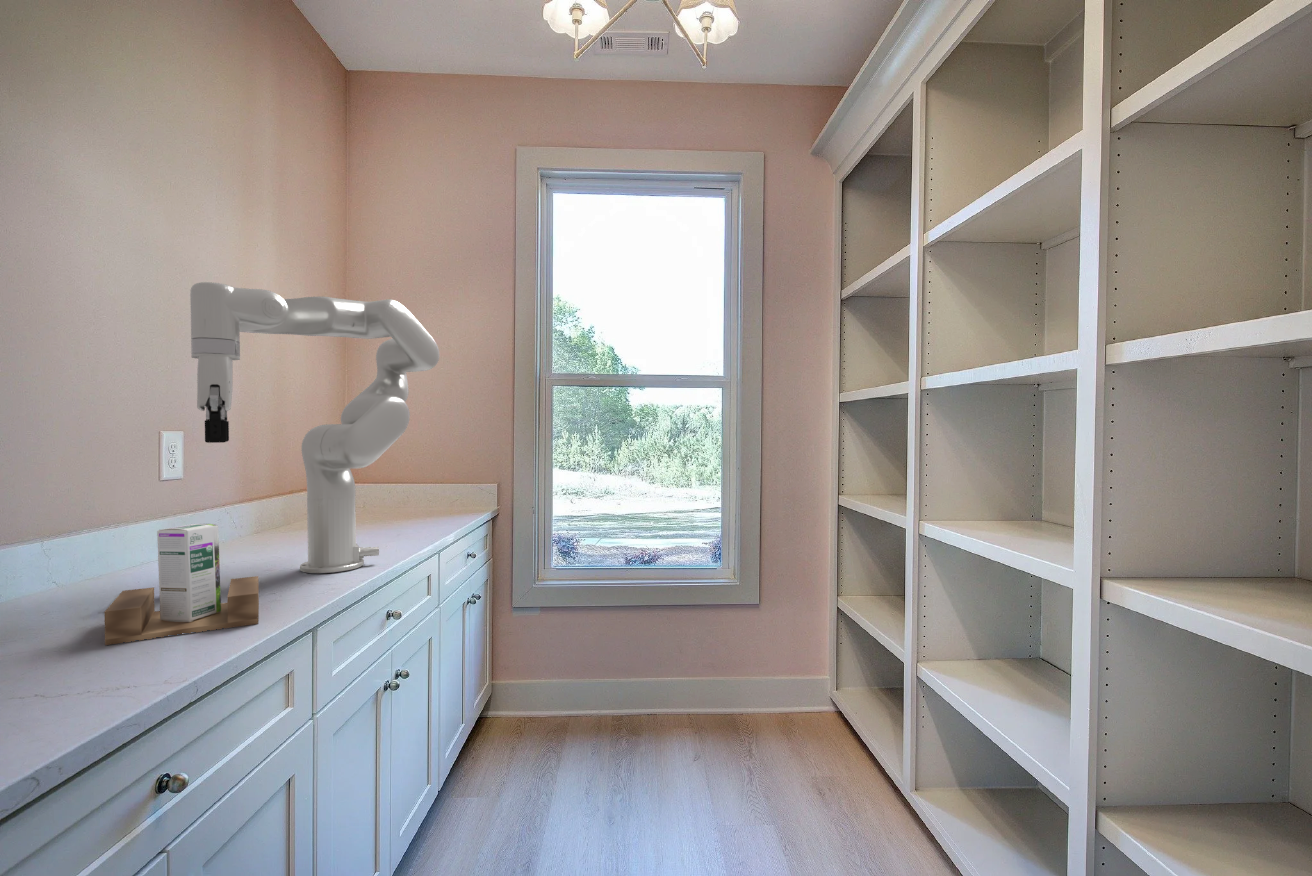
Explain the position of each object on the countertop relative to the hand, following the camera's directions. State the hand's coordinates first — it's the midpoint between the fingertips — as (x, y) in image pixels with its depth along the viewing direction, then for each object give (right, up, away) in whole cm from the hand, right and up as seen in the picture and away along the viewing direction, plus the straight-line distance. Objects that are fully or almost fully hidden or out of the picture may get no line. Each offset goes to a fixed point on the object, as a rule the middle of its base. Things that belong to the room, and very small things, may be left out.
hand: (217, 442), depth 119 cm
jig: (+8, -29, -18) cm, 35 cm away
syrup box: (+8, -28, -18) cm, 34 cm away
